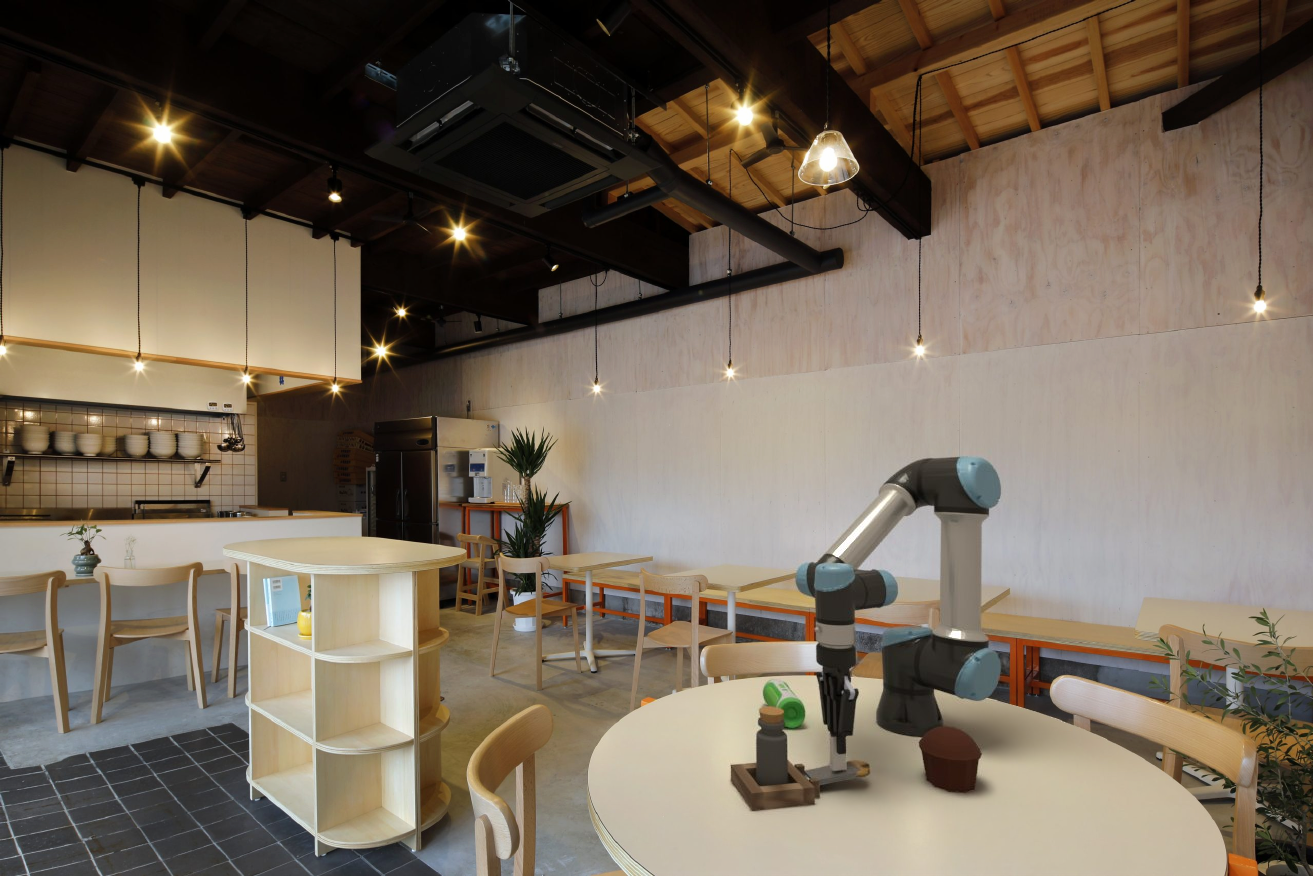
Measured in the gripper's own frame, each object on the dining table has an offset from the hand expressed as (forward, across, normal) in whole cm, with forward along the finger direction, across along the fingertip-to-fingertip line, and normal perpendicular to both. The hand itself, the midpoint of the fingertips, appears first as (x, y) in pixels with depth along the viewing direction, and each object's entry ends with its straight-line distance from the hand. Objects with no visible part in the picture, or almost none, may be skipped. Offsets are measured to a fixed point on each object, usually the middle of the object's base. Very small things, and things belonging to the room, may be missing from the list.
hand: (838, 768), depth 124 cm
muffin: (+4, +3, +22) cm, 23 cm away
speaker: (+4, -37, +4) cm, 38 cm away
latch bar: (+1, 0, 0) cm, 1 cm away
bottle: (+3, 0, -14) cm, 14 cm away
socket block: (+3, 0, -14) cm, 14 cm away
